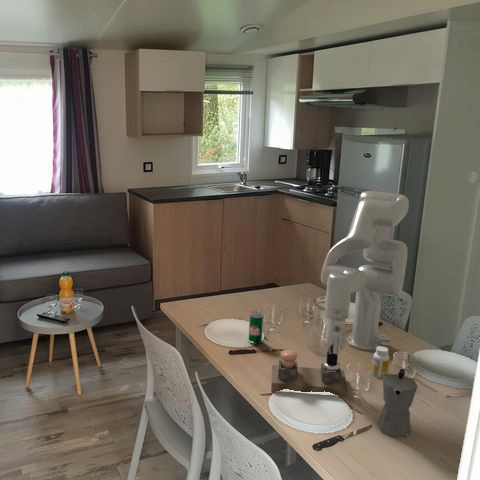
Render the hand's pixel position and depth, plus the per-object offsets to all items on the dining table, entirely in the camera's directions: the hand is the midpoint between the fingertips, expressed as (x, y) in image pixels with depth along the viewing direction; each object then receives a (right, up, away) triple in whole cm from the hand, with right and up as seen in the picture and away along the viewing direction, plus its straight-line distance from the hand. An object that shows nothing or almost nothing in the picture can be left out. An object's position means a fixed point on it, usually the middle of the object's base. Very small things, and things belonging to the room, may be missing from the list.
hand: (331, 364), depth 173 cm
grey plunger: (0, -5, +1) cm, 5 cm away
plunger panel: (-7, -7, +3) cm, 11 cm away
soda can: (-24, +1, +32) cm, 40 cm away
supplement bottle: (+19, -6, +12) cm, 23 cm away
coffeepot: (+15, -14, -18) cm, 27 cm away
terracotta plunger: (-14, -1, +2) cm, 14 cm away
